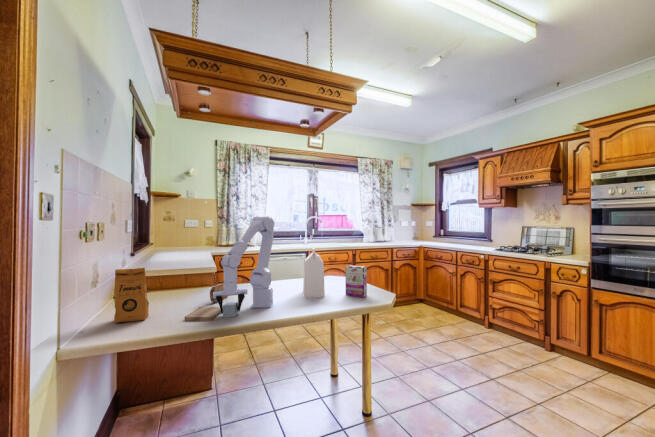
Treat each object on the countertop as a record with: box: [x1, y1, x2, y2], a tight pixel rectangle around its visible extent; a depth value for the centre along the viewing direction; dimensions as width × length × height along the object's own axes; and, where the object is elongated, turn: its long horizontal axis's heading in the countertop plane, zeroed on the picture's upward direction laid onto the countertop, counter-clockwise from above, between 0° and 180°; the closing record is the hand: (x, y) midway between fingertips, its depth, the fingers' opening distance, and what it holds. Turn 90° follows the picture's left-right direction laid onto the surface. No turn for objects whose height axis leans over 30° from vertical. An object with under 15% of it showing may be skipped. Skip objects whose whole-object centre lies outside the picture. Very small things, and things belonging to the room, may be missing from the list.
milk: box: [302, 247, 326, 298], centre depth 164 cm, size 12×12×26 cm
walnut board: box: [184, 306, 222, 322], centre depth 128 cm, size 12×14×2 cm
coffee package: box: [113, 267, 150, 323], centre depth 122 cm, size 10×12×22 cm
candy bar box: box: [345, 264, 368, 298], centre depth 161 cm, size 11×5×16 cm, turn 61°
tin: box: [209, 282, 229, 303], centre depth 152 cm, size 15×3×8 cm, turn 168°
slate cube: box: [222, 301, 239, 318], centre depth 128 cm, size 5×5×5 cm
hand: (230, 311), depth 128 cm, fingers closed on slate cube, 7 cm apart
